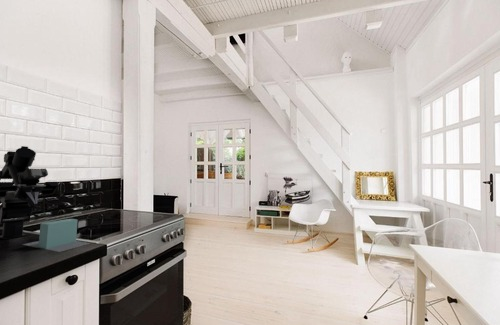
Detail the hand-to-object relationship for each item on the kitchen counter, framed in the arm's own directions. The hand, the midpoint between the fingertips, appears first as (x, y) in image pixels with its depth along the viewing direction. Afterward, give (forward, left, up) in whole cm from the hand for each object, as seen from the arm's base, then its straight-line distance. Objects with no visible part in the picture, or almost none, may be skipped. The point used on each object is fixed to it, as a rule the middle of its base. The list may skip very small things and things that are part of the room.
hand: (35, 205), depth 88 cm
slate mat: (+14, 0, -14) cm, 20 cm away
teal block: (+15, 0, -13) cm, 19 cm away
